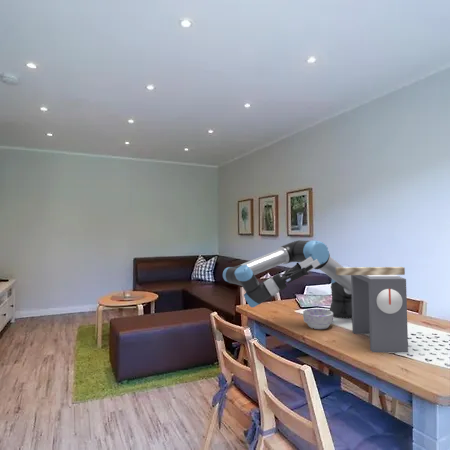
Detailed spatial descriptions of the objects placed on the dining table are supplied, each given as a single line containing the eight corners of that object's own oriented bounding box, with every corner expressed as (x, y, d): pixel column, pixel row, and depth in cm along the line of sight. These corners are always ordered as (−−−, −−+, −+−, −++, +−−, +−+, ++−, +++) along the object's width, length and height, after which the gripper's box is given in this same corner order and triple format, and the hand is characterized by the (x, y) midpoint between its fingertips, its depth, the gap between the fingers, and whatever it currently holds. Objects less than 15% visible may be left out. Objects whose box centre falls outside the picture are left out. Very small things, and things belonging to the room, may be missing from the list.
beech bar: (337, 275, 145) (337, 268, 145) (335, 274, 148) (335, 267, 148) (404, 274, 143) (404, 267, 143) (401, 273, 146) (401, 266, 146)
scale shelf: (373, 353, 137) (371, 277, 138) (352, 331, 166) (350, 269, 167) (409, 353, 136) (407, 276, 137) (381, 332, 165) (380, 268, 166)
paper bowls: (310, 332, 167) (310, 316, 167) (299, 323, 182) (298, 309, 182) (339, 330, 169) (338, 314, 170) (325, 322, 185) (325, 307, 185)
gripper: (277, 286, 167) (314, 264, 166) (283, 296, 142) (326, 270, 141) (269, 273, 168) (306, 251, 167) (273, 281, 143) (316, 255, 142)
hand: (315, 260), depth 154 cm, fingers open, 13 cm apart
